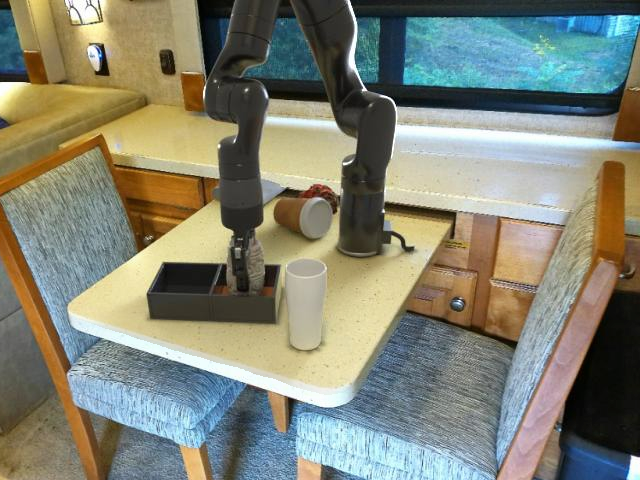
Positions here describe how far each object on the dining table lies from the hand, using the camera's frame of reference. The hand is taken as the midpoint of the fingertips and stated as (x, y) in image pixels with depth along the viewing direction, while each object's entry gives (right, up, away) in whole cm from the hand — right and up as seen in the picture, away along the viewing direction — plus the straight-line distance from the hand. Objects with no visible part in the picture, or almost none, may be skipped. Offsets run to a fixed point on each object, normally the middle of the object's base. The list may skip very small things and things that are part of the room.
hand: (245, 280), depth 112 cm
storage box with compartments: (-5, -4, +4) cm, 8 cm away
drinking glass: (+10, -11, -9) cm, 17 cm away
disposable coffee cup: (+9, +18, +31) cm, 37 cm away
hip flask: (-2, +23, +43) cm, 49 cm away
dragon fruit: (+18, +17, +36) cm, 43 cm away
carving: (0, -3, +2) cm, 4 cm away
